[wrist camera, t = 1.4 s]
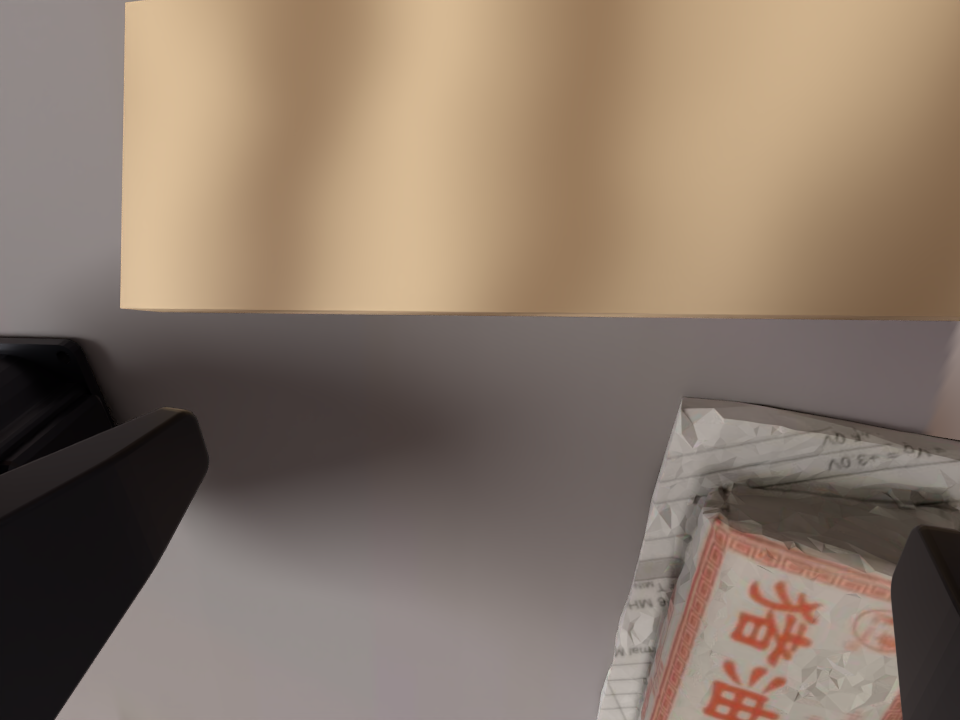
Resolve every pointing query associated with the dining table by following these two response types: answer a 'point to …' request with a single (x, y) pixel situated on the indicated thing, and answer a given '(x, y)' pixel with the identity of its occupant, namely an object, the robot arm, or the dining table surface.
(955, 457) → the packaged product
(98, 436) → the robot arm
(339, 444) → the dining table surface
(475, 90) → the oak plank
